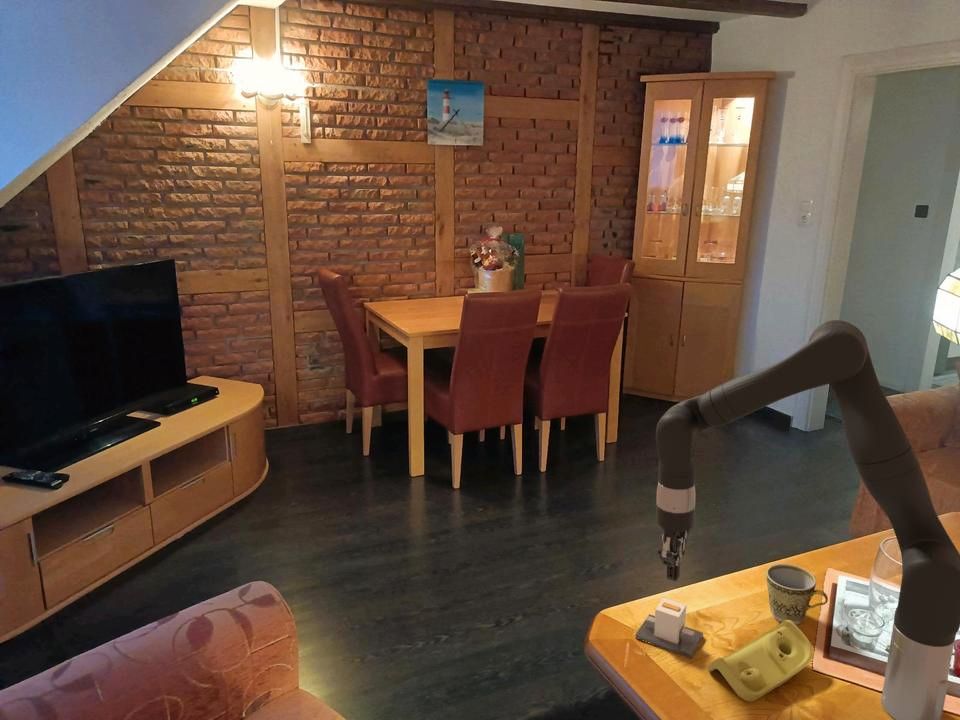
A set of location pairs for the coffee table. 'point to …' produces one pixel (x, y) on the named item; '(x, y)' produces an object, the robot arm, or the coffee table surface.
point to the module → (669, 620)
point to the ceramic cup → (791, 592)
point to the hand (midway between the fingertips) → (673, 578)
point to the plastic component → (765, 661)
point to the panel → (685, 646)
